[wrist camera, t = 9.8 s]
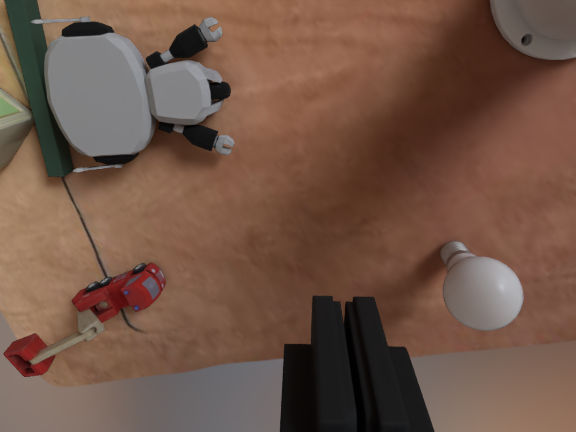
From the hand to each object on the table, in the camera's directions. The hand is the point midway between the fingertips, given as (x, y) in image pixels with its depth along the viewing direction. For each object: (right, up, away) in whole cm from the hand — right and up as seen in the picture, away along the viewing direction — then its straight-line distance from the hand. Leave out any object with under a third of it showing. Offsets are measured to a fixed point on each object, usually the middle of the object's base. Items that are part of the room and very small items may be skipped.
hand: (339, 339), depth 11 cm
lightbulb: (+16, 0, +32) cm, 35 cm away
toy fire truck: (-21, -5, +35) cm, 41 cm away
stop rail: (-23, +15, +26) cm, 38 cm away
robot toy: (-14, +15, +26) cm, 33 cm away
